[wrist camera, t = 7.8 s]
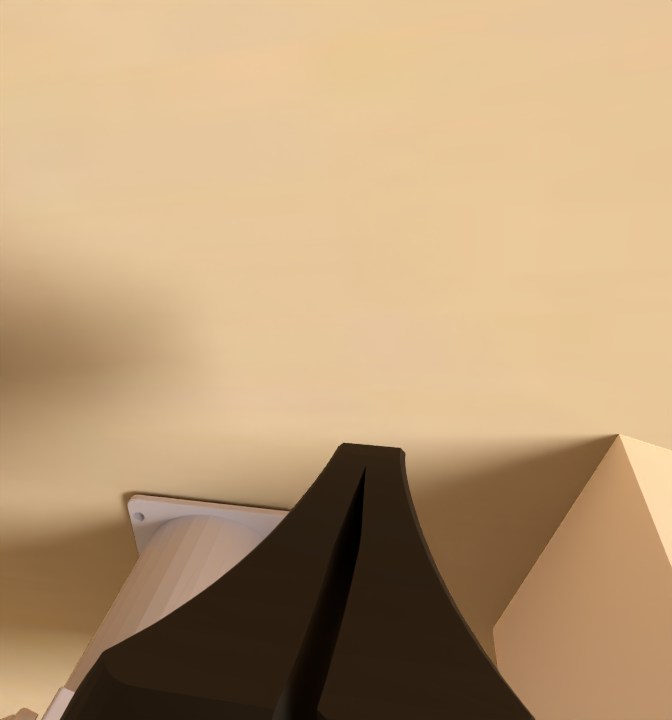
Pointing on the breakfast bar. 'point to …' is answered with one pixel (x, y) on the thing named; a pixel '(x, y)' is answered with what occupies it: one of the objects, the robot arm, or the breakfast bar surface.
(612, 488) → the milk
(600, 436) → the breakfast bar surface
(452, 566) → the breakfast bar surface
